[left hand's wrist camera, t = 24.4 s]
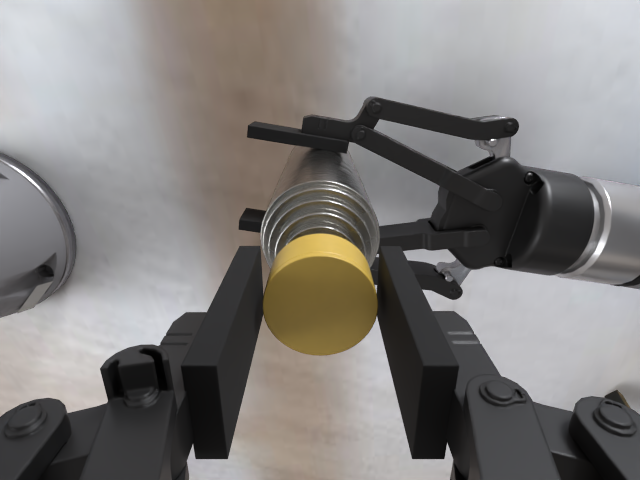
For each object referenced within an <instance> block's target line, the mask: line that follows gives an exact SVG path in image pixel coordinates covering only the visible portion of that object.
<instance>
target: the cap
mask: <svg viewBox="0 0 640 480" xmlns="http://www.w3.org/2000/svg"><path fill="white" fill-rule="evenodd" d="M377 311H378V299H377V294H376V290H375V286H374V282H373V279H372V275H371V271H370V268H369V265H368V262H367V260H366V258H365V257H364V255H363V254H362V252H361V251H360V250H359V249H358V248H357V247H356V246H355V245H353V244H352V243H351V242H349V241H347V240H345V239H343V238H341V237H338V236H335V235H330V234H321V233H320V234H310V235H305V236H302V237H299V238H297V239H295V240H293V241H292V242H290V243H288V244H287V245H286V246H285V247H284V248H283V249H282V250H281V251H280V252H279V253H278V254H277V256H276V257H275V259H274V261H273V263H272V266H271V270H270V273H269V277H268V281H267V285H266V288H265V292H264V296H263V314H264V318H265V321H266V323H267V325H268V327H269V329H270V330H271V332H272V333H273V334H274V336H275V337H276V338H277V339H278V340H279V341H280V342H282V343H283V344H285V345H286V346H287V347H289V348H291V349H293V350H296V351H298V352H301V353H305V354H310V355H331V354H336V353H339V352H343V351H345V350H347V349H349V348H351V347H353V346H355V345H356V344H357V343H359V342H360V341H361V340H362V339H363V338H365V336H366V335H367V334H368V333H369V331H370V330H371V328H372V327H373V324H374V322H375V320H376V316H377Z"/></svg>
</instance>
